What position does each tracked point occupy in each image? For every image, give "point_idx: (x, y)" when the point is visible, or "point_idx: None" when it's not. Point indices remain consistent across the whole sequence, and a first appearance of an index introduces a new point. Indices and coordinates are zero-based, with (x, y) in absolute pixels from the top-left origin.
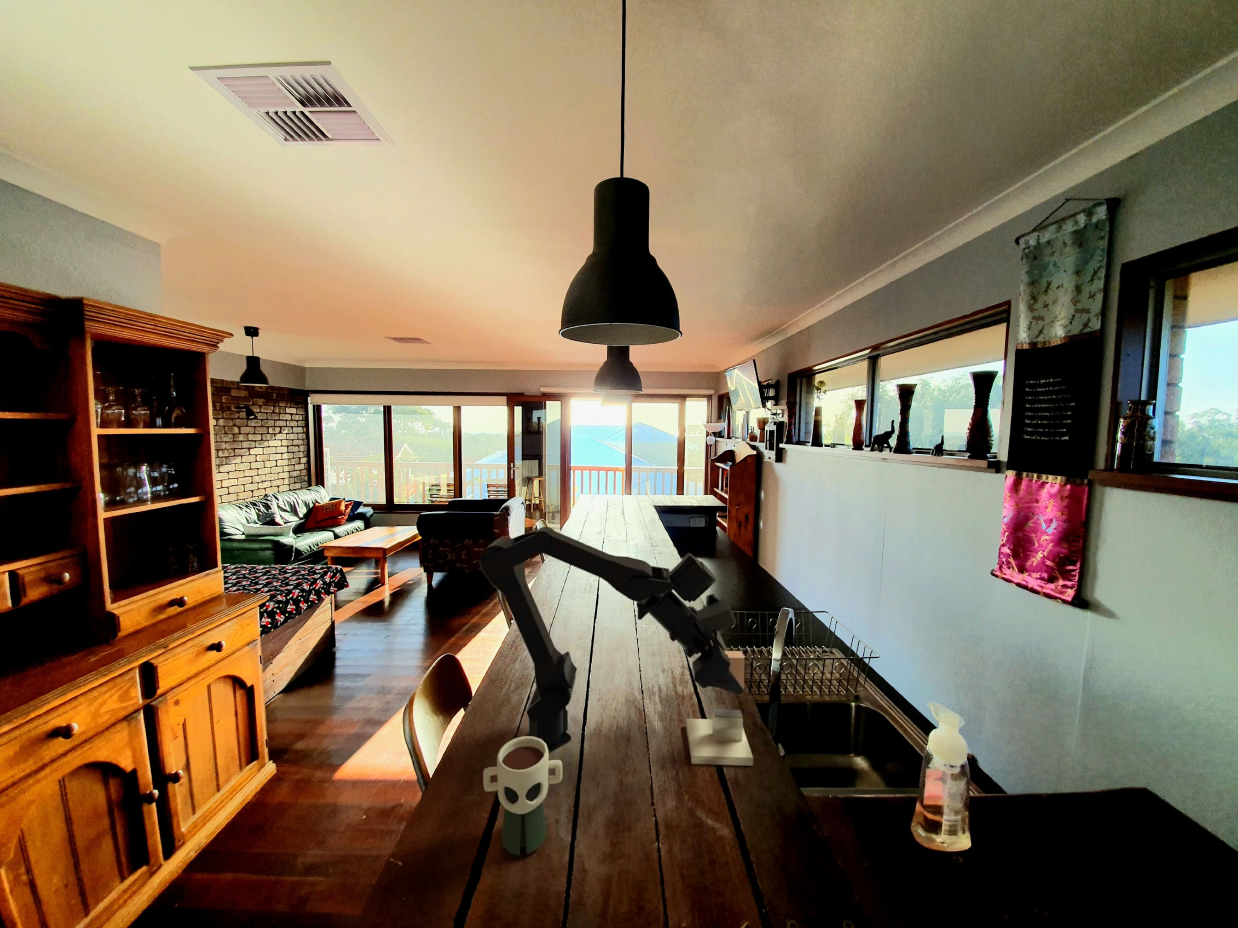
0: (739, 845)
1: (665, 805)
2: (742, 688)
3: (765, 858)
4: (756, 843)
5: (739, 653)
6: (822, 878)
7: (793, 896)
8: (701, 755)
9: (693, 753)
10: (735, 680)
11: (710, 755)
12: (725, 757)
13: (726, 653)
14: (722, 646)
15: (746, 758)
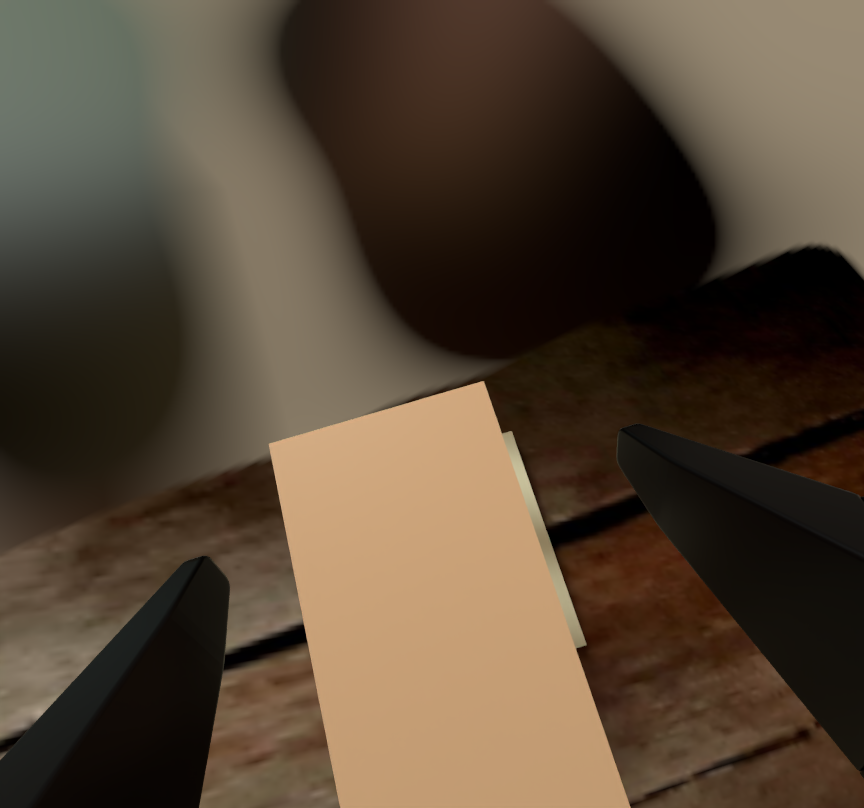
0: (800, 452)
1: (786, 687)
2: (660, 431)
3: (801, 391)
4: (772, 413)
5: (361, 472)
6: (783, 281)
7: (859, 335)
8: (572, 608)
9: (573, 640)
10: (817, 488)
11: (558, 574)
12: (541, 520)
13: (435, 722)
14: (38, 792)
15: (518, 452)
